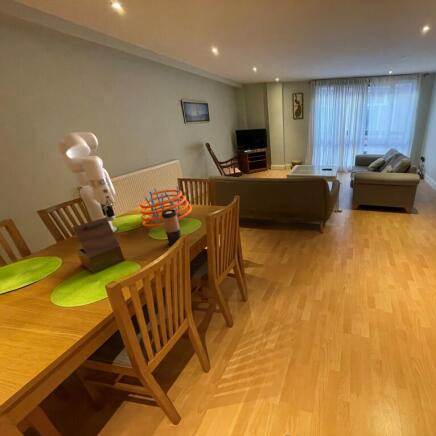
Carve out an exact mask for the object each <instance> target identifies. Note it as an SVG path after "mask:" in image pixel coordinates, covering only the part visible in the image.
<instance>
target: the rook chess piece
mask: <svg viewBox="0 0 436 436" xmlns="http://www.w3.org/2000/svg"><path fill="white" fill-rule="evenodd" d="M107 206H108V205H107ZM103 209H105V212H106V208H105V206H104V208H103ZM106 218H107V220H108V221H111V222H113V221H115V220H116V215H115V216H112V217H108V216H107V213H106Z"/></svg>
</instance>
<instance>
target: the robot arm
mask: <svg viewBox="0 0 436 436" xmlns="http://www.w3.org/2000/svg"><path fill="white" fill-rule="evenodd" d="M98 146H99V142H98V138H97V137H96V135H95V134H93V133H92V132H89V131H79V132H77V131H76V132H68V133H66V134H65V135H64V136H63V139H60V140H58V141H57V142H56V147H57V149H58V151H59V153H60V155H62V157H63V161H64V163H65V164H66V167H67V169H68V170H69V171H70V172H71V173H73V174H74V176H75V178H76V181H77V182H78V183H79V184H80V185H84V187H81V188H80V189H79V192H78V193H79V196H80V198H81V199H82V201H83V203H84V204H85V206H86V209H87V211H88V215H89V217H90V220H91V222H92V221H95V220H99V219H102V218H106V213H107V216H108V217H112V216H115V217H116V215H115V211H114V208H113V206H114V205H113V204H114V203H115V199H114V197H115V196H116V190H115V187H114V185H113V183H112V180H111V178H110V175H109V173H108V171H107V170H106V168H104V163H103V162H104V161H103V159H102V158H100V156H97V155H90V154H91V153H94V152H96V151H97V149H98ZM85 185H86V186H85ZM87 185H88V186H87ZM107 205H108V206H107ZM104 206H105V208H106V212H105V209H103V208H104ZM108 222H109V224H110V226H111V228H112V230H113V232H114V233H115V232H117V229H118V228H117V227H116V226H113V223H112V222H113V221H108Z"/></svg>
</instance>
